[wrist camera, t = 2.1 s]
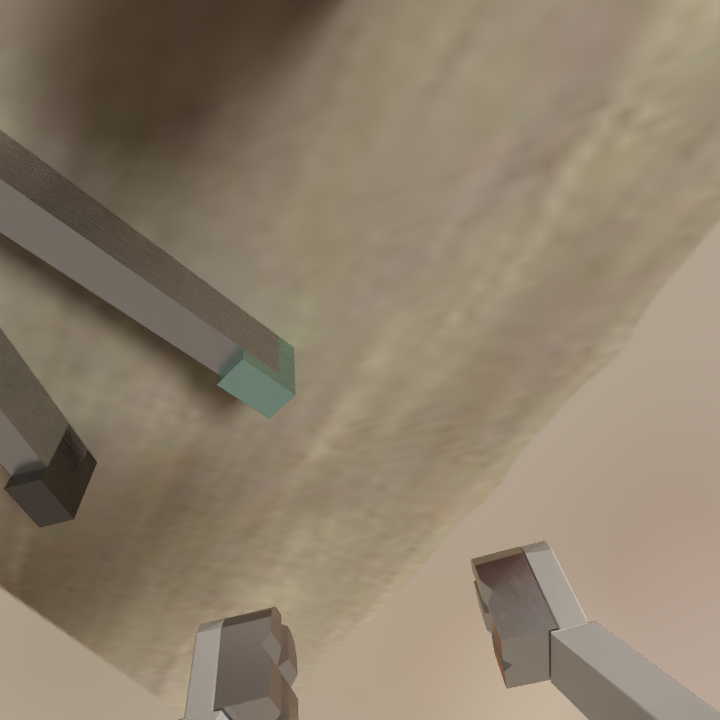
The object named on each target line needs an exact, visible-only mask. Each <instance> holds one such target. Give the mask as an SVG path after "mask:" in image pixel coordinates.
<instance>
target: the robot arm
mask: <svg viewBox="0 0 720 720" xmlns="http://www.w3.org/2000/svg"><path fill="white" fill-rule="evenodd" d="M471 564H472V570H473V573H474V576H475V579H476V580H475V581H474V584H475V588H476V594H477V598H478V602H479V606H480V609H481V613H482V616H483V619H484V622H485V625H486V628H487V630H488V631H489V632H491V633H492V639H493V646H494V652H495V656H496V658H497V662H498V665H499V668H500V670H501V674H502V676H503V679H504V682H505V685H506V688H512V687H517V686H522V685H527V684H532V683H536V682H541V681H546V680H551V683H552V684H553V685H554V686H555V687H557V689H558V690H559V691H561V692H562V693H563V694H564V695H565V696H566V697H567V698H568V699H569V700H570V701H571V702H572V703H573V704H574V705H575V706H576V707H577V708H578V709H579V710H580V711H581V712H582V713H583V714H584V715H585V716H586V717H587V718H588V719H589V720H720V713H719V712H718V711H717V710H716V709H714V708H713V707H711V706H710V705H709V704H708V703H706V702H705V701H704V700H702V699H701V698H699V697H698V696H697V695H695V694H694V693H693V692H691V691H690V690H689V689H687V688H686V687H685V686H683V685H682V684H681V683H679V682H678V681H676V680H675V679H674V678H673V677H671V676H670V675H669V674H667V673H666V672H665V671H663V670H662V669H661V668H659V667H658V666H656V665H655V664H654V663H652V662H651V661H650V660H648V659H647V658H646V657H644V656H643V655H642V654H640V653H639V652H637V651H636V650H635V649H634V648H632V647H631V646H629V645H628V644H627V643H625V642H624V641H623V640H621V639H620V638H619V637H617V636H616V635H615V634H613V633H612V632H611V631H609V630H608V629H606V628H605V627H604V626H602V625H601V624H600V623H599V622H597V621H592V622H588V620H587V618H586V617H585V615H584V612H583V610H582V608H581V606H580V604H579V602H578V601H577V598H576V597H575V595H574V593H573V590H572V588H571V586H570V585H569V582H568V580H567V578H566V576H565V574H564V573H563V570H562V569H561V566H560V565H559V563H558V561H557V559H556V557H555V555H554V553H553V551H552V549H551V547H550V546H549V545H548V544H547V543H546V542H545V541H542V542H538V543H534V544H530V545H526V546H522V547H516V548H512V549H508V550H505V551H501V552H497V553H493V554H489V555H486V556H482V557H478V558H474V559H472V560H471ZM296 676H297V656H296V649H295V643H294V640H293V637H292V633H291V631H290V630H289V628H288V626H285V625H283V624H281V614H280V612H279V611H278V609H277V608H276V607H272V608H268V609H263V610H259V611H255V612H251V613H247V614H243V615H239V616H235V617H230V618H224V619H220V620H216V621H212V622H208V623H204V624H200V627H199V629H198V631H197V634H196V638H195V645H194V653H193V660H192V667H191V674H190V681H189V688H188V695H187V702H186V709H185V716H184V718H183V719H179V720H298V699H297V697H296V695H295V693H294V692H293V690H292V689H291V686H292V684H293V682H294V680H295V678H296Z"/></svg>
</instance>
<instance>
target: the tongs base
mask: <svg viewBox="0 0 720 720" xmlns="http://www.w3.org/2000/svg"><path fill="white" fill-rule="evenodd" d="M0 464H1V465H2V466H3V467H4V468H5V469H6V470H7V472H8V473H9V474H10V475H11V478H10V480H9V481H8V483H7V485H6V487H5V488H4V489H5V490H6V491H7V492H8V493H9V494H10V495H11V496H12V498H13V499H14V500H15V501H16V502H17V503H18V504H19V505H20V506H21V508H22V509H23V510H24V511H25V512H26V513H27V514H28V515H29V516H30V517H31V519H32V520H33V521H34V522H35V523H36V524H37V525H38V526H39V527H44V526H48V525H52V524H56V523H60V522H64V521H68V520H72V519H74V517H75V515H76V513H77V510H78V508H79V505H80V503H81V500H82V498H83V495H84V493H85V490H86V488H87V486H88V483H89V481H90V478H91V476H92V473H93V471H94V468H95V466H96V464H97V462H96V461H95V459H94V458H93V456H92V455H91V454H90V452H89V451H88V449H87V448H86V447H85V445H84V444H83V443H82V441H81V440H80V438H79V437H78V436H77V434H76V433H75V431H74V430H73V429H72V427H71V426H70V425H69V423H68V422H67V420H66V419H65V418H64V416H63V415H62V413H61V412H60V411H59V409H58V408H57V407H56V405H55V404H54V402H53V401H52V400H51V398H50V397H49V396H48V394H47V393H46V391H45V390H44V389H43V387H42V386H41V384H40V383H39V382H38V380H37V379H36V378H35V376H34V375H33V373H32V372H31V371H30V369H29V368H28V366H27V365H26V364H25V362H24V361H23V360H22V358H21V357H20V355H19V354H18V353H17V351H16V350H15V348H14V347H13V346H12V344H11V343H10V342H9V340H8V339H7V337H6V336H5V335H4V333H3V332H2V330H1V329H0Z"/></svg>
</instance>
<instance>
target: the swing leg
mask: <svg viewBox="0 0 720 720" xmlns="http://www.w3.org/2000/svg"><path fill="white" fill-rule="evenodd" d="M0 233H2V234H4V235H5V236H7V237H8V238H10V239H11V240H13V241H14V242H16V243H17V244H19V245H20V246H22V247H24V248H25V249H27V250H28V251H30V252H31V253H33V254H34V255H36V256H37V257H39V258H40V259H42V260H43V261H45V262H47V263H48V264H50V265H51V266H53V267H54V268H56V269H57V270H59V271H60V272H62V273H63V274H65V275H66V276H68V277H70V278H71V279H73V280H74V281H76V282H77V283H79V284H80V285H82V286H83V287H85V288H86V289H88V290H90V291H91V292H93V293H94V294H96V295H97V296H99V297H100V298H102V299H103V300H105V301H106V302H108V303H109V304H111V305H113V306H114V307H116V308H117V309H119V310H120V311H122V312H123V313H125V314H126V315H128V316H129V317H131V318H132V319H134V320H136V321H137V322H139V323H140V324H142V325H143V326H145V327H146V328H148V329H149V330H151V331H152V332H154V333H156V334H157V335H159V336H160V337H162V338H163V339H165V340H166V341H168V342H169V343H171V344H172V345H174V346H175V347H177V348H179V349H180V350H182V351H183V352H185V353H186V354H188V355H189V356H191V357H192V358H194V359H195V360H197V361H198V362H200V363H202V364H203V365H205V366H206V367H208V368H209V369H211V370H212V371H214V372H215V373H217V374H218V380H217V386H219V387H221V388H222V389H224V390H225V391H227V392H228V393H230V394H231V395H233V396H235V397H236V398H238V399H239V400H241V401H242V402H244V403H246V404H247V405H249V406H250V407H252V408H253V409H255V410H257V411H258V412H260V413H261V414H263V415H264V416H266V417H267V418H269V419H270V418H271V417H272V416H273V415H274V414H275V413H276V412H278V411H279V410H280V409H281V408H282V407H283V406H284V405H285V404H286V403H287V402H289V401H290V400H291V399H292V398H293V397H294V396H295V368H294V348H293V347H291V346H290V345H289V344H287V343H286V342H285V341H283V340H282V339H281V338H279V337H278V336H277V335H275V334H274V333H273V332H271V331H270V330H268V329H267V328H266V327H264V326H263V325H262V324H260V323H259V322H258V321H256V320H255V319H254V318H252V317H251V316H250V315H248V314H247V313H246V312H244V311H243V310H242V309H240V308H239V307H237V306H236V305H235V304H233V303H232V302H231V301H229V300H228V299H227V298H225V297H224V296H223V295H221V294H220V293H219V292H217V291H216V290H215V289H213V288H212V287H210V286H209V285H208V284H206V283H205V282H204V281H202V280H201V279H200V278H198V277H197V276H196V275H194V274H193V273H192V272H190V271H189V270H188V269H186V268H185V267H184V266H182V265H181V264H179V263H178V262H177V261H175V260H174V259H173V258H171V257H170V256H169V255H167V254H166V253H165V252H163V251H162V250H161V249H159V248H158V247H157V246H155V245H154V244H153V243H151V242H150V241H148V240H147V239H146V238H144V237H143V236H142V235H140V234H139V233H138V232H136V231H135V230H134V229H132V228H131V227H130V226H128V225H127V224H126V223H124V222H123V221H121V220H120V219H119V218H117V217H116V216H115V215H113V214H112V213H111V212H109V211H108V210H107V209H105V208H104V207H103V206H101V205H100V204H99V203H97V202H96V201H95V200H93V199H92V198H90V197H89V196H88V195H86V194H85V193H84V192H82V191H81V190H80V189H78V188H77V187H76V186H74V185H73V184H72V183H70V182H69V181H68V180H66V179H65V178H64V177H62V176H61V175H59V174H58V173H57V172H55V171H54V170H53V169H51V168H50V167H49V166H47V165H46V164H45V163H43V162H42V161H41V160H39V159H38V158H37V157H35V156H34V155H32V154H31V153H30V152H28V151H27V150H26V149H24V148H23V147H22V146H20V145H19V144H18V143H16V142H15V141H14V140H12V139H11V138H10V137H8V136H7V135H6V134H4V133H3V132H1V131H0Z"/></svg>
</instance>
